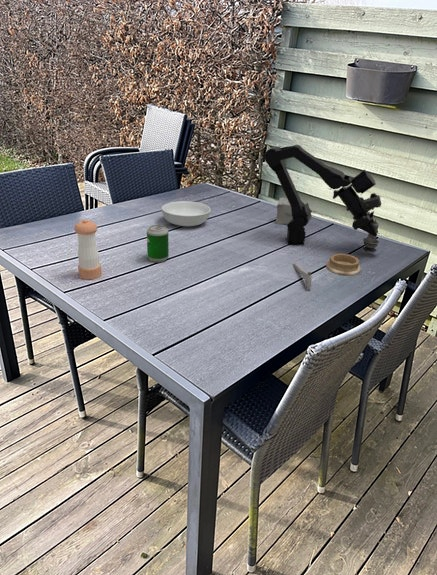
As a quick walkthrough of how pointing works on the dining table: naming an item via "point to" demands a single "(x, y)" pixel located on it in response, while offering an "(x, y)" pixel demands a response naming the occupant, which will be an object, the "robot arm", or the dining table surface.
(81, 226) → the pepper shaker
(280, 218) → the incense holder
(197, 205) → the serving bowl
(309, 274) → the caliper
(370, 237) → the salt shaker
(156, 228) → the soda can
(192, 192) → the dining table surface
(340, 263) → the dish
